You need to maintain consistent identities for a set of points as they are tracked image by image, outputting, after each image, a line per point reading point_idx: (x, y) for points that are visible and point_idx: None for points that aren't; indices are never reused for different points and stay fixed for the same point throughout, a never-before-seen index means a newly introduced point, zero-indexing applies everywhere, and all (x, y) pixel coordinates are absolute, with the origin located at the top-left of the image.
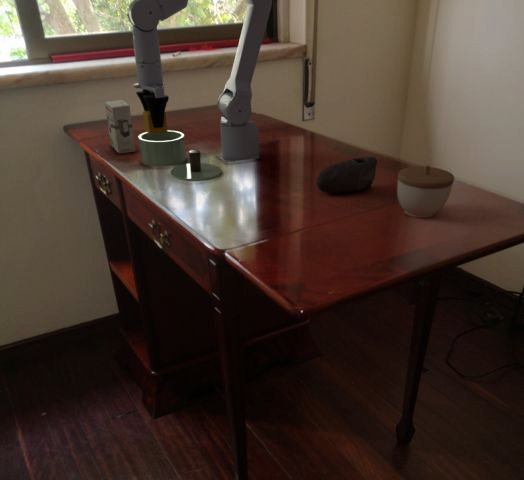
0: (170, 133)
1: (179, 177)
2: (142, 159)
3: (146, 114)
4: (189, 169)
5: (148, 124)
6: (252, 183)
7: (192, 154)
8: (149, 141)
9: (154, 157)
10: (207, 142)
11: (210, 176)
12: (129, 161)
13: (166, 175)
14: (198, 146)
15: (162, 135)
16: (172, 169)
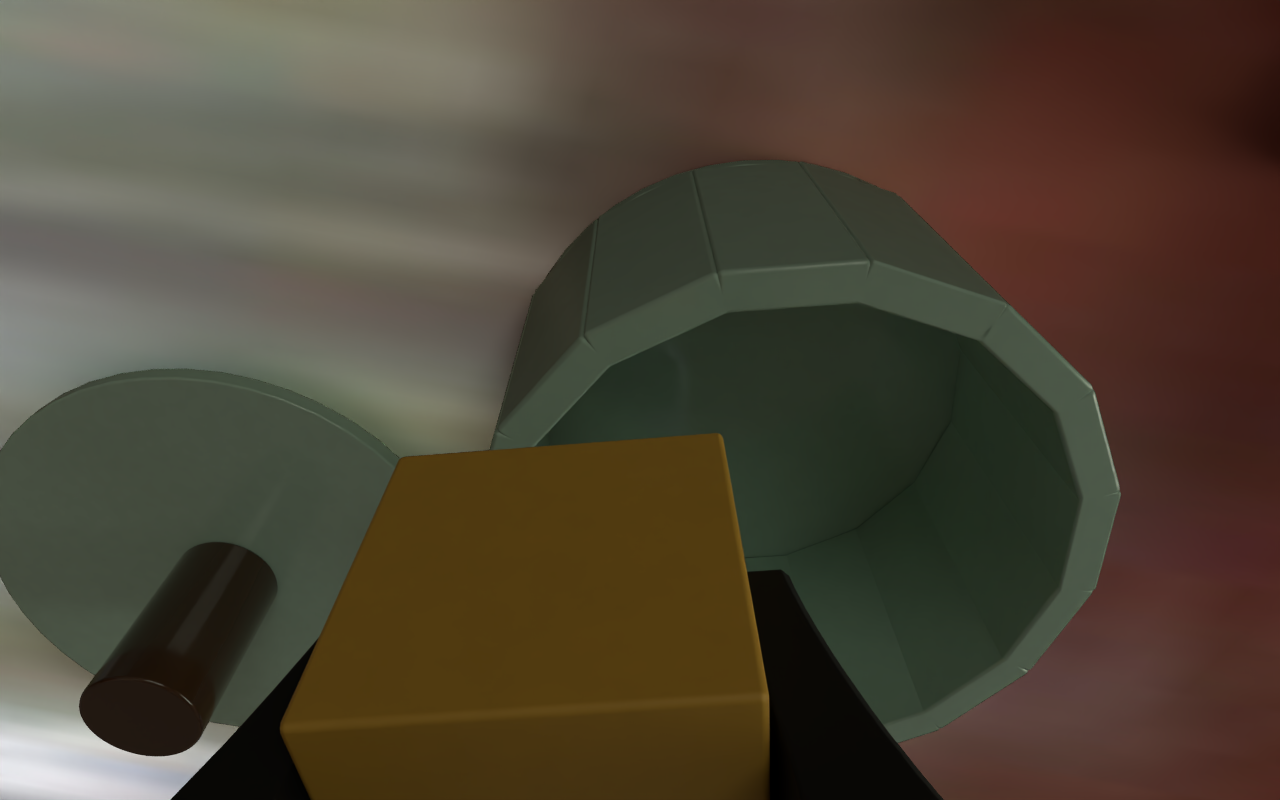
0: (957, 661)
1: (25, 422)
2: (709, 180)
3: (387, 710)
4: (270, 542)
5: (363, 562)
6: (22, 795)
7: (91, 682)
8: (542, 380)
9: (532, 321)
10: (1135, 783)
11: (50, 636)
12: (946, 21)
13: (278, 328)
14: (1068, 715)
15: (1019, 570)
16: (293, 413)
